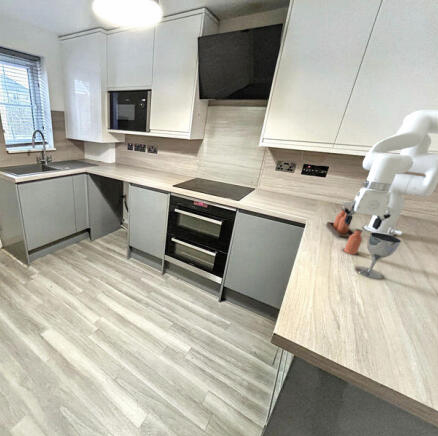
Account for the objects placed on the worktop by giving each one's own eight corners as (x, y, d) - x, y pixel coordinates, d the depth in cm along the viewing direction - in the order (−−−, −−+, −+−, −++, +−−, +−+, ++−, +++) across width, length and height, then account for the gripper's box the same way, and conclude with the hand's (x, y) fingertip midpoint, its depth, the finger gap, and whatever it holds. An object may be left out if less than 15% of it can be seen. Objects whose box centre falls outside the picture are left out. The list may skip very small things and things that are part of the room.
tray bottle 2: (348, 232, 123) (356, 213, 119) (343, 234, 122) (351, 214, 118) (339, 229, 127) (346, 210, 123) (334, 230, 125) (341, 211, 121)
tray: (326, 225, 134) (327, 221, 134) (343, 227, 132) (344, 224, 131) (338, 238, 118) (339, 234, 117) (358, 241, 115) (359, 238, 114)
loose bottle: (358, 253, 103) (368, 230, 99) (353, 255, 102) (362, 232, 98) (347, 249, 107) (356, 226, 103) (341, 250, 105) (350, 228, 101)
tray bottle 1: (344, 228, 128) (351, 210, 125) (339, 229, 127) (346, 210, 123) (335, 225, 132) (342, 207, 128) (330, 226, 130) (337, 208, 126)
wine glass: (376, 281, 84) (394, 244, 78) (350, 269, 91) (365, 234, 85) (387, 276, 87) (405, 240, 81) (362, 265, 94) (377, 231, 88)
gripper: (354, 185, 93) (339, 225, 99) (410, 191, 87) (391, 233, 93) (347, 182, 99) (333, 219, 105) (398, 187, 94) (381, 226, 100)
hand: (360, 226), depth 99 cm, fingers open, 9 cm apart
